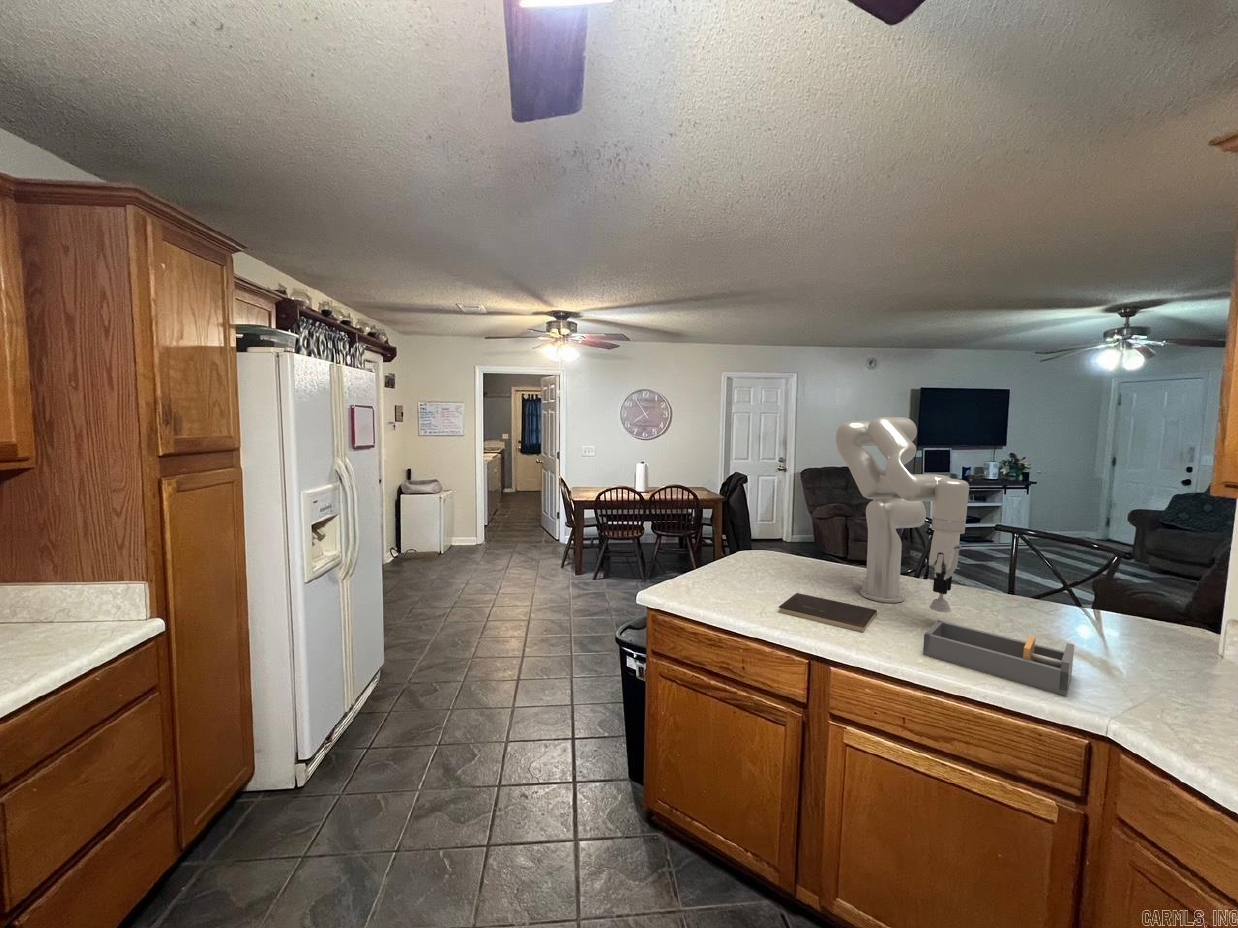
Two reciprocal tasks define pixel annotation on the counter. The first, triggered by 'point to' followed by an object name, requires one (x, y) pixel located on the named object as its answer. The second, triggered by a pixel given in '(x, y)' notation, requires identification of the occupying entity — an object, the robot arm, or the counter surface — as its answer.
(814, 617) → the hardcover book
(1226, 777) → the counter surface
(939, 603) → the chalice
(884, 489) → the robot arm
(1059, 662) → the pusher
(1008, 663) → the tray
